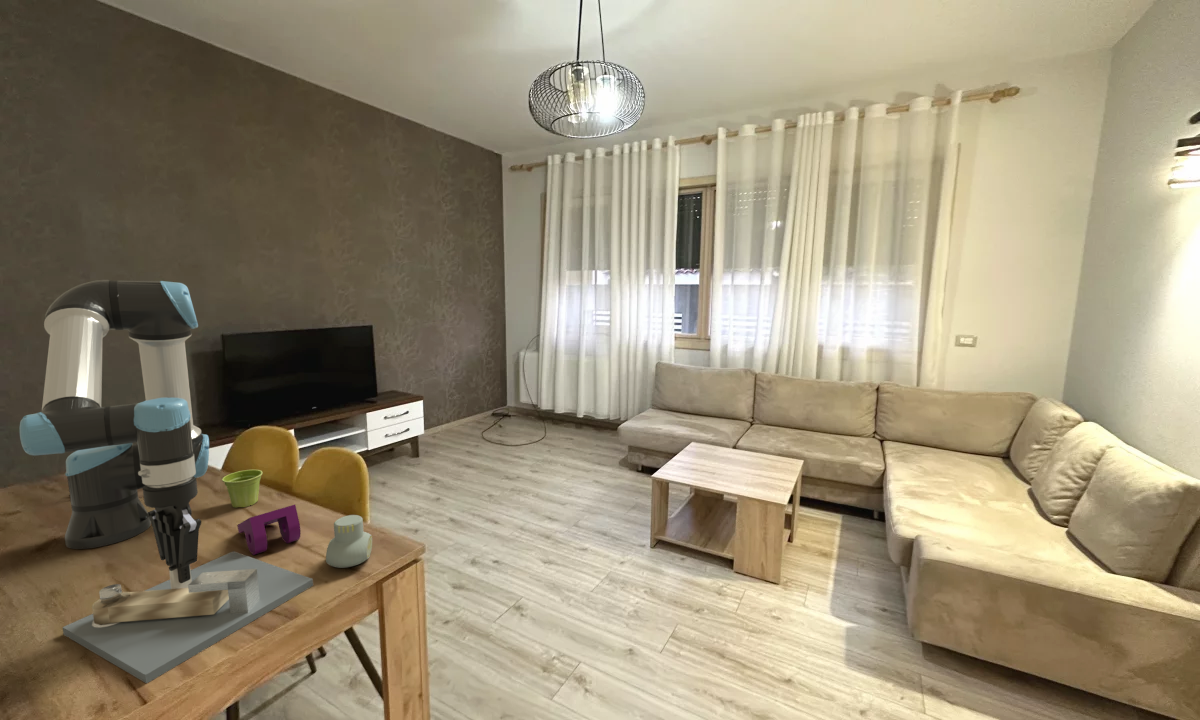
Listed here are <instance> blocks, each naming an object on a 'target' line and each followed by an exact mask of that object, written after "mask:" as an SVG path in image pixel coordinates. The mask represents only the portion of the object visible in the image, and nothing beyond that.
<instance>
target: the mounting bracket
mask: <svg viewBox="0 0 1200 720" xmlns="http://www.w3.org/2000/svg"><path fill="white" fill-rule="evenodd" d="M275 523H278V524H277V525H278V529H279V533H280V536H281V538H282V540H283V541H284V542H285V543H286V544H290V543H292V542H295V541H299V540H300V538H301V531H302V530H301V524H300V519H299V515H298V510H297V507H296V504H291V505H288V506H285V507H281V508H278V509H276V510H275V509H274V510H272V511H268V512H265V513H260V514H257V515H254V516H251V517H248V518H247V519H245V520H244V521H241V522H240V523H238V524H236V526H237V531H238V534H242V533H244V536H245V540H246V546H247V548H248V551H249V552H250V553H251V554H252V556H255V555H257V554H261V553H264V552H266V551H267V550H268V538H267V531H266V528H265V527H266V526H269V525H272V524H275Z"/></svg>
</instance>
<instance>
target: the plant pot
mask: <svg viewBox="0 0 1200 720" xmlns="http://www.w3.org/2000/svg"><path fill="white" fill-rule="evenodd" d="M262 475H263V471H262V470H260V469H246V470H239V471H236V472H231V473H229V474H227V475H225V476H224V477H222V479H221V481H222V482H223V484H224V485H225V486H226V489H227V492H228V496H229V499H230V503H231V507H233V508H236V509H237V508H247V507H251V506H253V505H255V504H256V503H257V502H258V501H259V492H260V482H261V479H262ZM250 505H251V506H250Z"/></svg>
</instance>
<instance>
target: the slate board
mask: <svg viewBox="0 0 1200 720" xmlns="http://www.w3.org/2000/svg"><path fill="white" fill-rule="evenodd" d="M246 569H257V576H258V587H259V598H260V600H259V601H258V602H257V603H256V604H255V605H254V606H253V608H252V609H251V610H250V611H249V612H248V613H239V614H230V604H229V600H228V601H227V602H226V603H225V604H224V605H223V606H222V607H221V608H220V609H219V610H218V611H217V612H216V613H215V614H213V615H200V616H188V617H176V618H163V619H151V620H139V621H126V622H121V623H118V624H116V625H113V626H109V627H105V628H94V627H93V626H92V622H93V621H94V617H93V613H91V614H90V615H87V616H85V617H82V618H80V619H78V620H76V621H74V622H71V623H69V624H66V625H65V626H62V632H63V636H65V637H66V638H68V637H69V638H68V639H70V640H71V641H73V642H75V643H77V644H79V645H80V646H82V647H83V648H85V649H86V650H89V651H91V652H92V653H94V654H95V655H98V656H99V657H101V658H102V659H104V660H106V661H107V662H109V663H111V664H113V665H114V666H116V667H118V669H119V668H120V669H122V671H124V672H126V673H128V674H130V675H131V676H133V677H134V678H136V679H138V680H140V681H141V682H143V683H145V684H149V682H151V681H154V680H155V679H157V678H159V677H161V676H162V675H163V674H166V673H167V672H168V671H170V670H172V669H174V668H176V667H177V666H179V665H181V664H182V663H184V662H186V661H188V660H189V659H190V658H193V657H194V656H196V655H198V654H199V653H201V652H202V651H204V650H206V649H208V648H210V647H211V646H213V645H214V644H216V643H218V642H220V641H222V640H223V639H225V638H227V637H228V636H230V635H232V634H233V633H235V632H236V631H238V630H240V629H242V628H243V627H245V626H247V625H249V624H251V623H252V622H253V621H255V620H258V619H259V618H260V617H262V616H265V615H266V614H267V613H269V612H270V611H273V610H274V609H276V608H277V607H279V606H281V605H282V604H284V603H286V602H287V601H289V600H291V599H293V598H295V597H297V596H298V595H299V594H301V593H303V592H305V591H306V590H308V589H310V588H311V587H314V580H313V578H312V577H309V576H306V575H303V574H300V573H297V572H294V571H292V570H288V569H285V568H283V567H279V566H277V565H274V564H272V563H269V562H266V561H262V560H260V559H257V558H254V557H251V556H249V555H246V554H243V553H239V552H237V551H234V550H233V551H231V552H228V553H226V554H224V555H221V556H219V557H217V558H215V559H213V560H211V561H208V562H206V563H204V564H202V565H199V566H197V567H194V568H192V569H190V570H191V580H192V581H193V580H195V579H196V578H197V577H198V576H199V575H200V574H201V573H205V572H219V571H232V570H246ZM166 589H171V583H170V579H167V580H166V581H163V582H161V583H158V584H156V585H154V586H152V587H150V588H148V589H144V591H152V590H166ZM228 596H229V594H228Z"/></svg>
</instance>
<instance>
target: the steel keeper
mask: <svg viewBox="0 0 1200 720" xmlns="http://www.w3.org/2000/svg"><path fill="white" fill-rule="evenodd" d="M188 590H189V593H191V592H204V591H217V590H228V594H229V604H230V614H239V613H248V612H249V611H250V610H251V609H252V608H253V606H254V605H255V604H256V603H257V602H258V601H259V600H260V598H259V587H258V576H257V569H246V570H232V571H219V572H205V573H201V574H200V575H199V576H198V577H197V578H196V579H195V580H193V581H192V582H191V583H190V584H189V585H188Z"/></svg>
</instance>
